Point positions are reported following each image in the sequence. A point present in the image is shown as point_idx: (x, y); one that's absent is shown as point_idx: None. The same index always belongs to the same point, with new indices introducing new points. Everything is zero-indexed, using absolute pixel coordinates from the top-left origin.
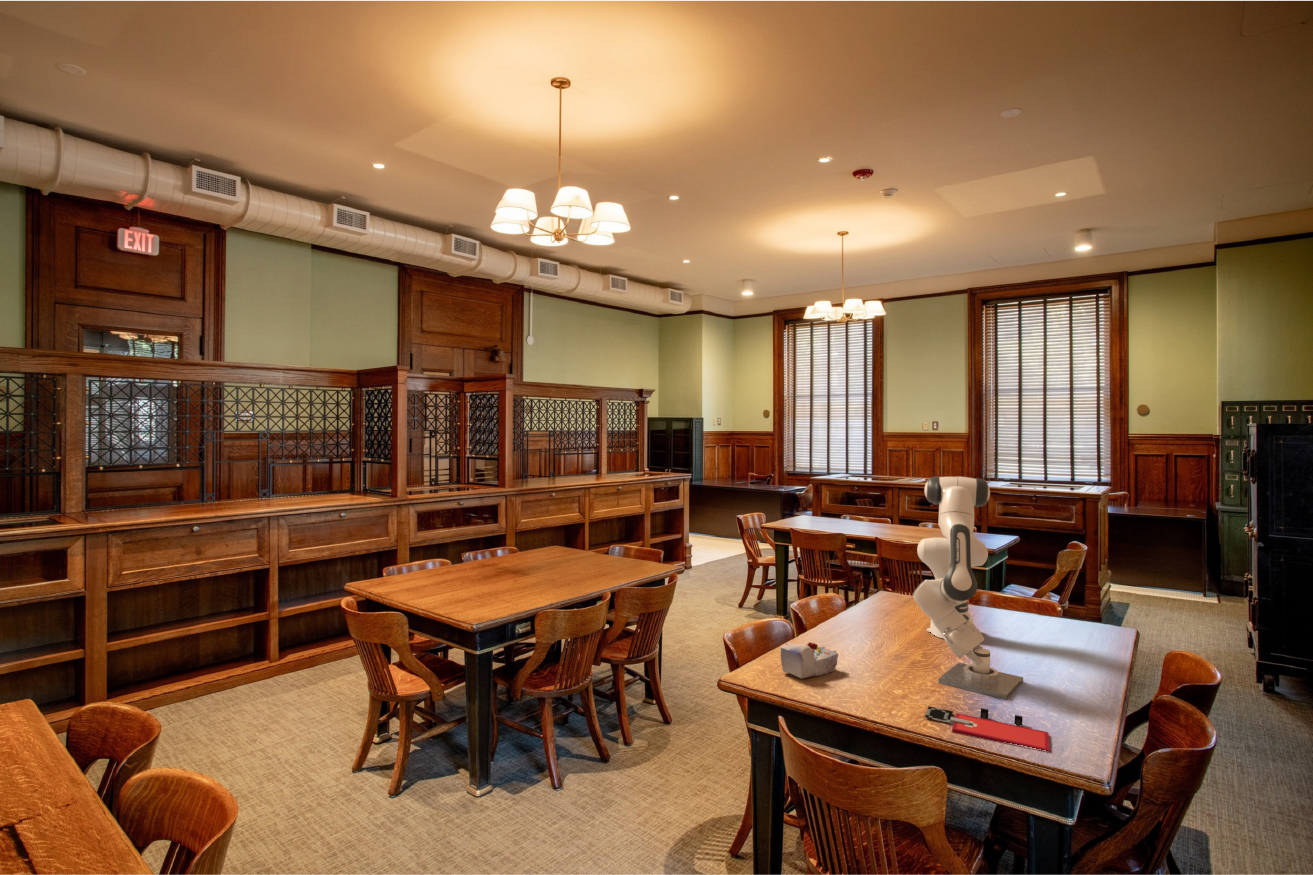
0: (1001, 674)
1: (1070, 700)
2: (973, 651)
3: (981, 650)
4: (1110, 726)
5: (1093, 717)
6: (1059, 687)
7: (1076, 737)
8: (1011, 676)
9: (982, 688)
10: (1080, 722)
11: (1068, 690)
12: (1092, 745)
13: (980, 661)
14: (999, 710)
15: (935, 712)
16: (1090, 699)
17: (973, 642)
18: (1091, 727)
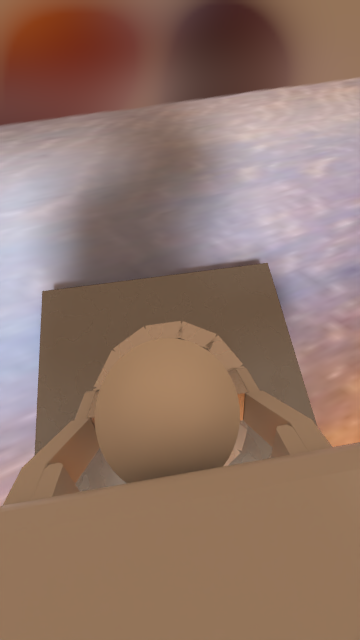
0: (67, 356)
1: (118, 175)
2: (224, 459)
3: (166, 408)
4: (214, 99)
5: (191, 124)
6: (28, 217)
7: (331, 118)
8: (64, 321)
9: (285, 337)
10: (245, 131)
11: (39, 197)
12: (338, 97)
13: (247, 371)
14: (354, 254)
15: None
16: (73, 152)
17: (187, 534)
18: (252, 115)
